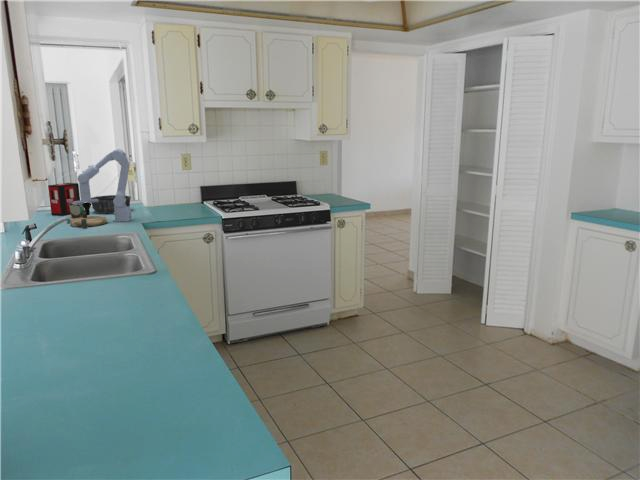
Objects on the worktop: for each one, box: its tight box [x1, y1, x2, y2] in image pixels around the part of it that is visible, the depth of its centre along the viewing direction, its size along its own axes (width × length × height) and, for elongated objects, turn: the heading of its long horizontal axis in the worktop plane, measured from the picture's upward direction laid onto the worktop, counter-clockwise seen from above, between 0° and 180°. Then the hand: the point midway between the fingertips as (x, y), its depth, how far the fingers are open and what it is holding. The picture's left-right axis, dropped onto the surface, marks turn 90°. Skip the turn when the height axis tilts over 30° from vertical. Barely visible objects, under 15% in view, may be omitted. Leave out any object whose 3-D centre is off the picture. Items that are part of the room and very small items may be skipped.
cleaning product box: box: [47, 182, 81, 217], centre depth 331 cm, size 16×9×20 cm, turn 161°
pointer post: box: [81, 219, 88, 230], centre depth 287 cm, size 4×2×5 cm, turn 15°
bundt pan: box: [91, 194, 132, 215], centre depth 341 cm, size 26×26×10 cm
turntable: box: [69, 209, 108, 228], centre depth 297 cm, size 20×20×7 cm
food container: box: [69, 202, 85, 219], centre depth 316 cm, size 12×6×10 cm, turn 59°
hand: (87, 214), depth 304 cm, fingers closed, pressing on turntable
